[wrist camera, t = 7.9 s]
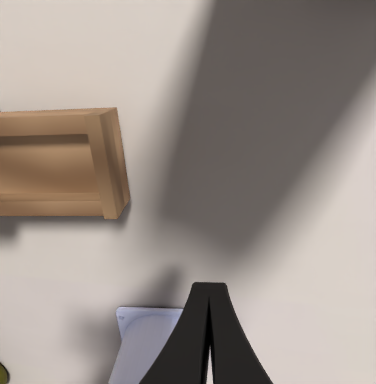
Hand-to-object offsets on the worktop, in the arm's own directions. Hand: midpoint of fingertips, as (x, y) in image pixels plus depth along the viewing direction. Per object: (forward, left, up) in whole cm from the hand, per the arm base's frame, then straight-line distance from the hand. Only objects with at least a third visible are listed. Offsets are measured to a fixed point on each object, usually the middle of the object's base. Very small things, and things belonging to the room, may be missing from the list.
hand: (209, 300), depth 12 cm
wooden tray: (+4, +16, -10) cm, 19 cm away
